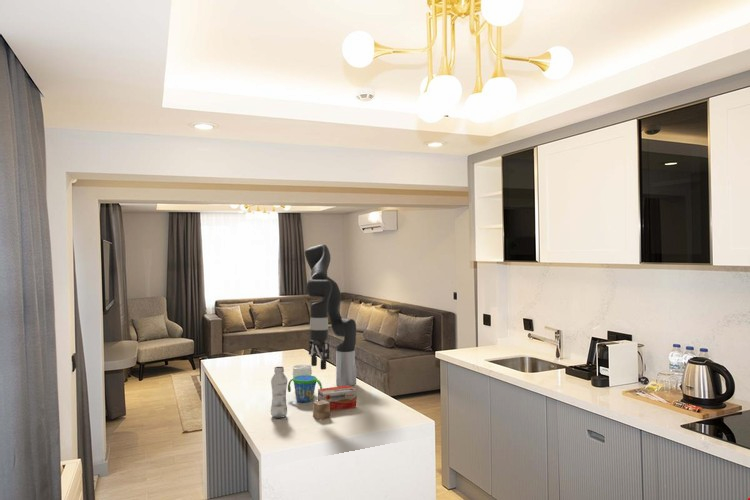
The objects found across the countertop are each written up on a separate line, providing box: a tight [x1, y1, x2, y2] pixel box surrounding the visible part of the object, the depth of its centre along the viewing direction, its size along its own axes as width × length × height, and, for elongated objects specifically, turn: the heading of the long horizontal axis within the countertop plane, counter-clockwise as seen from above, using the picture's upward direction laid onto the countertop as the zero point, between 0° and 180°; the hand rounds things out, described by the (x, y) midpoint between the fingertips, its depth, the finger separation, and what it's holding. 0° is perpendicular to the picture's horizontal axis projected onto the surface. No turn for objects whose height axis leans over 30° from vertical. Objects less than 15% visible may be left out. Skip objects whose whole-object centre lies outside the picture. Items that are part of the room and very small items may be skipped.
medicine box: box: [317, 385, 358, 412], centre depth 219 cm, size 15×8×8 cm, turn 115°
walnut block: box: [312, 400, 331, 421], centre depth 206 cm, size 5×5×6 cm
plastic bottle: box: [270, 366, 288, 419], centre depth 207 cm, size 6×7×20 cm
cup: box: [292, 364, 313, 388], centre depth 243 cm, size 9×9×12 cm
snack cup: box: [287, 375, 323, 403], centre depth 230 cm, size 16×10×10 cm
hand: (318, 367), depth 210 cm, fingers open, 8 cm apart
